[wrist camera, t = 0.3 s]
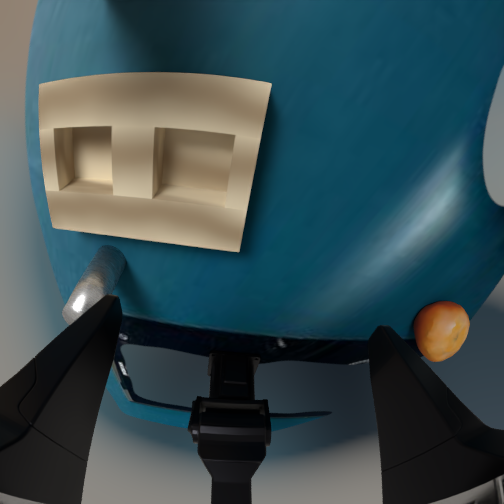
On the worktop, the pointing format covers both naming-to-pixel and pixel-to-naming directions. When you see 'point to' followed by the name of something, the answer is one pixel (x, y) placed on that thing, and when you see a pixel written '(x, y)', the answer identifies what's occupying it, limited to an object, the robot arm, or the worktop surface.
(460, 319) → the fruit
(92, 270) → the pin
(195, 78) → the socket block
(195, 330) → the worktop surface
